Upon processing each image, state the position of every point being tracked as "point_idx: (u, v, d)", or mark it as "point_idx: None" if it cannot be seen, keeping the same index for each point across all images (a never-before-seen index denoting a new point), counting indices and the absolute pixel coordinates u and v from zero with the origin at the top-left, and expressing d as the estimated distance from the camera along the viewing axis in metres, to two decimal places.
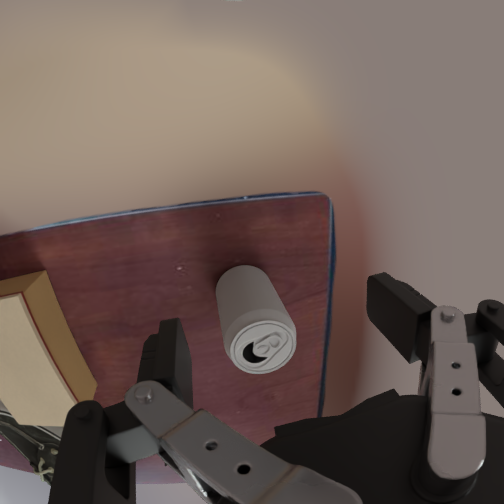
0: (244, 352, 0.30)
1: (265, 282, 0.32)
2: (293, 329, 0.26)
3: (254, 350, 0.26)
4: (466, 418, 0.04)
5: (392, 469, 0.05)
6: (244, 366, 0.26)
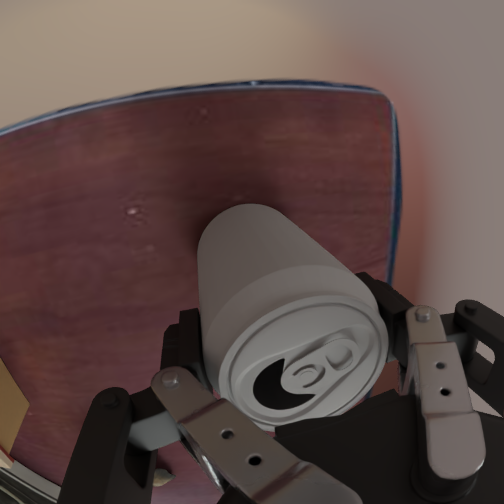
0: None
1: (296, 226, 0.15)
2: None
3: (284, 379, 0.09)
4: (466, 418, 0.04)
5: (392, 469, 0.05)
6: (256, 418, 0.09)
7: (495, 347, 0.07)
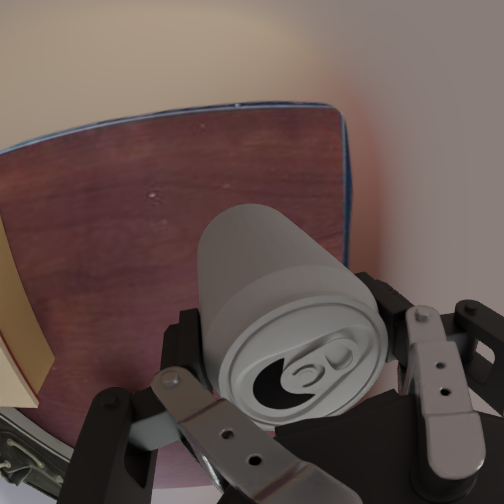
0: None
1: (296, 226, 0.15)
2: None
3: (283, 379, 0.09)
4: (466, 418, 0.04)
5: (392, 469, 0.05)
6: (256, 418, 0.09)
7: (495, 347, 0.07)
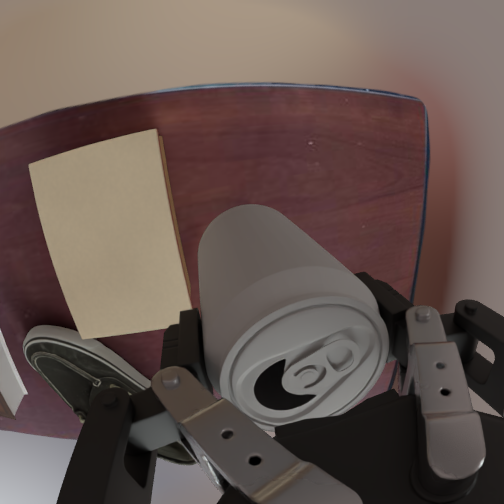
0: None
1: (297, 227, 0.15)
2: None
3: (285, 380, 0.09)
4: (466, 418, 0.04)
5: (392, 469, 0.05)
6: (257, 419, 0.09)
7: (495, 347, 0.07)
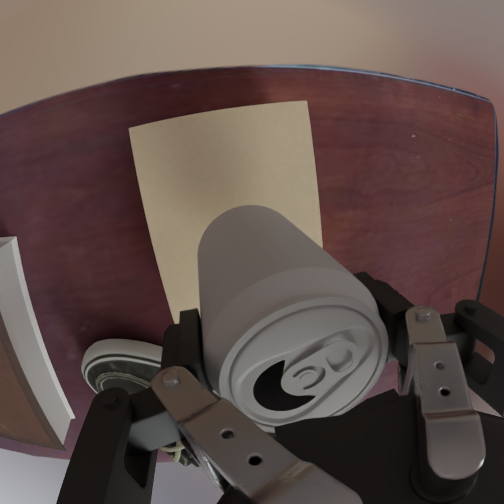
0: None
1: (296, 228, 0.15)
2: None
3: (284, 381, 0.09)
4: (466, 418, 0.04)
5: (392, 469, 0.05)
6: (257, 419, 0.09)
7: (495, 347, 0.07)
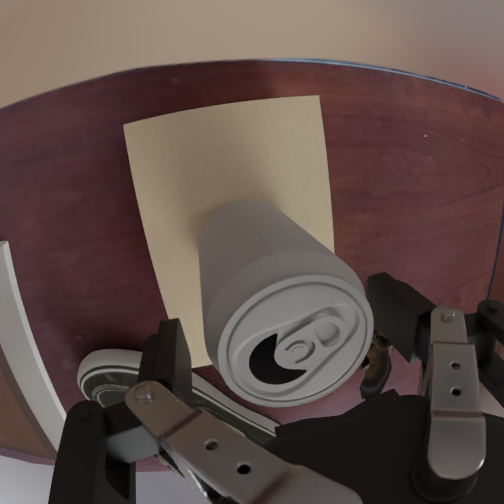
0: (250, 358, 0.14)
1: (290, 219, 0.16)
2: None
3: (277, 354, 0.10)
4: (466, 418, 0.04)
5: (392, 469, 0.05)
6: (252, 392, 0.11)
7: None
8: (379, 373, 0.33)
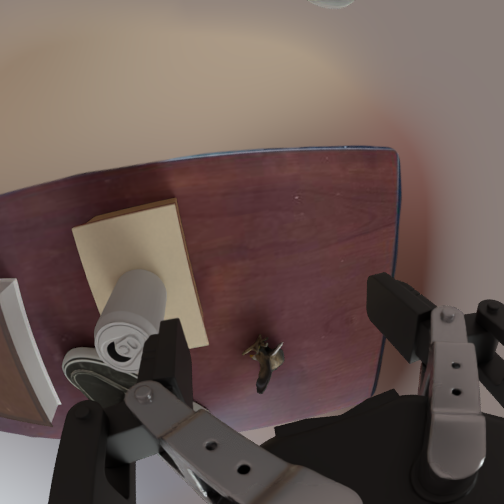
0: None
1: (146, 286, 0.31)
2: (153, 333, 0.26)
3: (116, 349, 0.25)
4: (466, 418, 0.04)
5: (392, 470, 0.05)
6: (112, 364, 0.25)
7: None
8: (266, 374, 0.48)
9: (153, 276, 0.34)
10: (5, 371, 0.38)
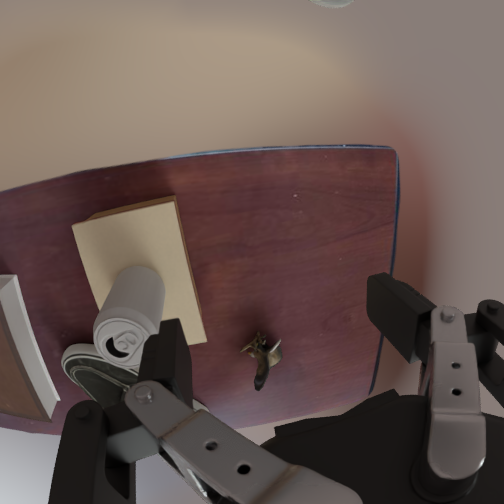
0: None
1: (145, 282, 0.32)
2: (151, 328, 0.26)
3: (115, 345, 0.25)
4: (466, 418, 0.04)
5: (392, 469, 0.05)
6: (110, 359, 0.26)
7: None
8: (264, 371, 0.48)
9: (152, 273, 0.34)
10: (5, 367, 0.38)
